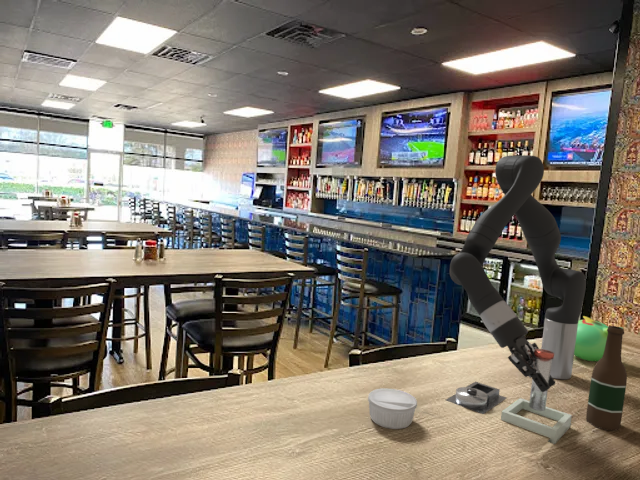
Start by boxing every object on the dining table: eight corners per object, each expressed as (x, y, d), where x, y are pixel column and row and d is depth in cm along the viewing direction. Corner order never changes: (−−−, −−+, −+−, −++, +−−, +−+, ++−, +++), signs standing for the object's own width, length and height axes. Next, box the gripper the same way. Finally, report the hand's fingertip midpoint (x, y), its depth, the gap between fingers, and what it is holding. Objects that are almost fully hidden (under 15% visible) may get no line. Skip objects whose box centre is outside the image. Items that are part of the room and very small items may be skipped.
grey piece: (470, 389, 133) (471, 374, 132) (506, 401, 126) (508, 385, 126) (444, 403, 122) (446, 387, 121) (482, 418, 115) (484, 401, 115)
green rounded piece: (567, 348, 181) (572, 310, 180) (619, 360, 171) (625, 319, 170) (558, 359, 167) (563, 317, 165) (615, 372, 157) (621, 328, 156)
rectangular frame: (518, 409, 122) (520, 397, 122) (570, 427, 114) (571, 415, 114) (500, 423, 113) (501, 411, 113) (554, 444, 105) (556, 430, 105)
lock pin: (530, 402, 116) (537, 347, 115) (549, 408, 113) (556, 352, 112) (524, 406, 113) (531, 351, 112) (543, 413, 110) (551, 356, 109)
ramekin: (384, 435, 103) (386, 412, 103) (356, 413, 113) (358, 391, 112) (425, 427, 108) (427, 404, 108) (395, 406, 118) (397, 385, 118)
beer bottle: (627, 433, 113) (641, 333, 111) (590, 428, 114) (604, 329, 112) (613, 419, 120) (627, 325, 118) (580, 414, 122) (592, 321, 120)
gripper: (504, 319, 111) (553, 387, 104) (525, 312, 121) (571, 373, 114) (479, 336, 115) (525, 403, 108) (502, 327, 125) (545, 388, 118)
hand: (549, 387), depth 111 cm, fingers closed on lock pin, 3 cm apart
